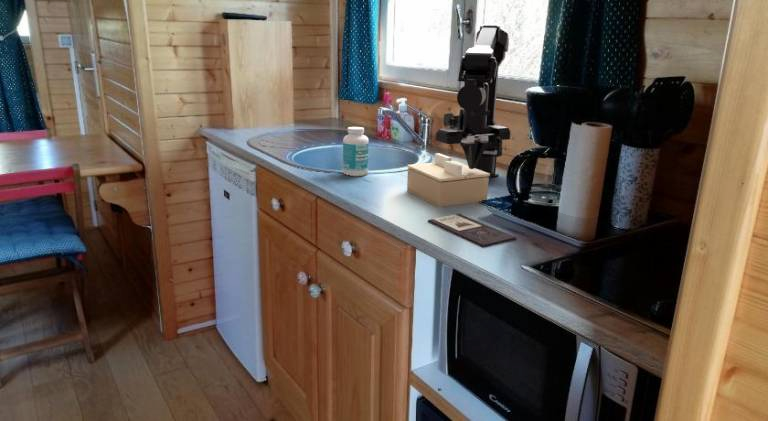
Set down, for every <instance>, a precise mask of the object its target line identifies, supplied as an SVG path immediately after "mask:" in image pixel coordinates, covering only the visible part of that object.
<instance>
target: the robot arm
mask: <svg viewBox="0 0 768 421" xmlns="http://www.w3.org/2000/svg"><path fill="white" fill-rule="evenodd" d="M475 35H476V36H475V44H474V46H473V47H470V48H467V50H466V51H465V53H464V55H463V56H462V57H461V61H460V66H459V73H458V77H457V82H461V83H464V85H463V86H462V87H460V89H459V90H458V93H457V95H456V101H457V104H458V106H459V107H460V109H459V115H454V113H452V112H450V113H444V114H443V121H442V122H443V127H444V128H438V130H437V131H436V133H435V141H437V142H438V143H439V142H440V143H442V144H446V145H456V144H459V145H460V147H461V148H462V150H463V153H464V155H465V159H466V163H467V166H469V169H474V168H476V169H478V170H481V171H484V172H487V173H490V176H487V177H489V178H495V177H499V176H500V174H498V173H496V171H497V170H496V169H497V159H498V158H499V157H503V141H506V140H507V141H508V140H511V134H512V133H511V130H510V128H509V127H507V126H502V125H498V124H497V122H496V120H495V118H496V116H495V115H496V104H497V92H498V91H497V90H498V78H499V67H500V66H501V65H502V63H503V62H504V60H505V59H506V53H508V51H509V45H510V44H509V43H510V42H509V40H510V39H509V33H508V32H506V31H505V30H503V29H501V25H498V24H482V25H480V26H479V30H478V31H477V32H476V34H475Z"/></svg>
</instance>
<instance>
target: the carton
mask: <svg viewBox="0 0 768 421" xmlns="http://www.w3.org/2000/svg"><path fill="white" fill-rule="evenodd" d="M489 179H490V177H487V176H486V177H477V178H468V179H466V178H465V179H460V180H451V181H442V182H440V181H437V180H435V179H433V178H431V177H428V176H426V175H424V174H421V173H419V172H417V171H415V170H412V169H410V168H408V167H407V181H406V182H407V186H406V187H407V189H406V191H407V192H409V193H411V194H413V195H415V196H417V197H419V198H421V199H423V200H424V201H427V202H429V203H431V204H433V205H435V206H436V207H439V208H442V207H449V206H457V205H463V204H465V205H466V204H470V203H471V204H472V203H478V202H479V201H480V202H483V201H482V200H487V201H488V195H489V194H488V193H489Z"/></svg>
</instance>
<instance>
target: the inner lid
mask: <svg viewBox="0 0 768 421" xmlns="http://www.w3.org/2000/svg"><path fill="white" fill-rule="evenodd" d="M444 161H450V162H453V163H455V164H458V165H461V166H462V175H463V176H465V178H466V179H468V178H477V177H486V176H490V173H487V172H484V171H481V170H478V169H476V168H474V169H469V166H468V164H464V163H462V162H459V161H456V160H452V157H451V156H448V155H445V154H442V153H439V152H438V153H434V162H431V163H432V164H435V165H437V166H440V167H442V168H444Z"/></svg>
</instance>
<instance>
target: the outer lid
mask: <svg viewBox="0 0 768 421" xmlns="http://www.w3.org/2000/svg"><path fill="white" fill-rule="evenodd" d="M432 163H433V162H426V163H425V162H424V163H415V164H413V163H412V164H407V165H406V168H407V169H408V168H410V169H412V170H415V171H417V172H419V173H421V174H424V175H426V176H428V177H431V178H433V179H435V180H437V181H440V182H442V181H451V180H460V179H465V176H463V175H462V166H461V165H458V164H455V163H453V162H450V161H444V168H442V167H440V166H437V165H435V164H432Z"/></svg>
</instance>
